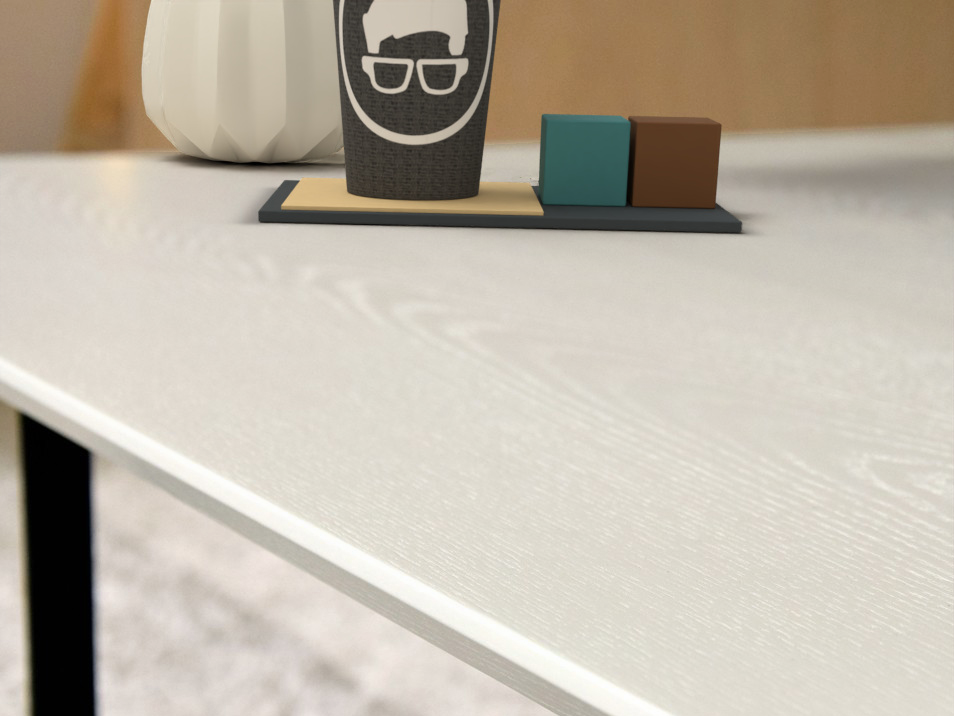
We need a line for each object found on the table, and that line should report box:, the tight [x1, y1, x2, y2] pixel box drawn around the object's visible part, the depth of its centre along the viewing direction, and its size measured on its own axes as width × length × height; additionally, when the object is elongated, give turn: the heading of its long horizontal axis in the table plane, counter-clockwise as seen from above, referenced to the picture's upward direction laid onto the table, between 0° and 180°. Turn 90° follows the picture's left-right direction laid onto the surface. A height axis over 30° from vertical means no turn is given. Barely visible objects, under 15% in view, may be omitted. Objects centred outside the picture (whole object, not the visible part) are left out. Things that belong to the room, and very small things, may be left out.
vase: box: [140, 0, 344, 164], centre depth 100 cm, size 14×14×13 cm
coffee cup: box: [333, 0, 502, 200], centre depth 78 cm, size 10×10×15 cm
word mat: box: [257, 113, 743, 234], centre depth 80 cm, size 22×13×4 cm, turn 89°
